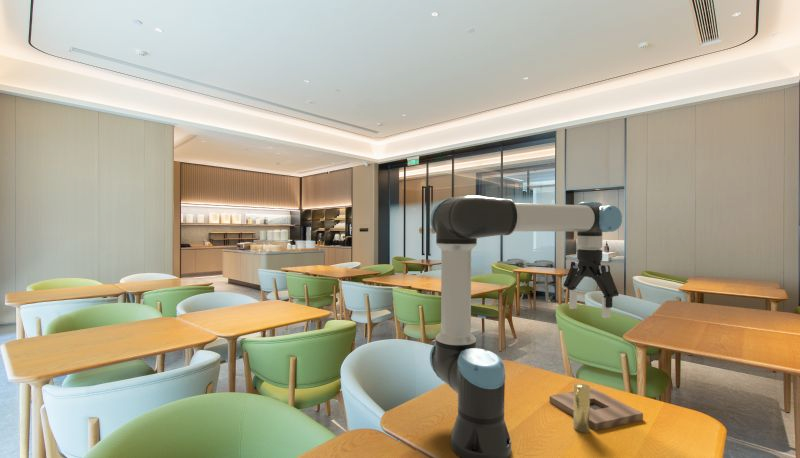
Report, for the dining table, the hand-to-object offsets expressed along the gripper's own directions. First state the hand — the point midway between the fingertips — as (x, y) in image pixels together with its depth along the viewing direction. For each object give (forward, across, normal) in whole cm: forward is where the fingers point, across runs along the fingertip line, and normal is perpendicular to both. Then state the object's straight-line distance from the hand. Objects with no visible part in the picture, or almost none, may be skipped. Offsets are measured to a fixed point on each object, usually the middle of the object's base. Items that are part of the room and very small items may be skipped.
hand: (588, 313), depth 126 cm
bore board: (+28, -8, +6) cm, 30 cm away
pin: (+28, -15, +18) cm, 36 cm away
